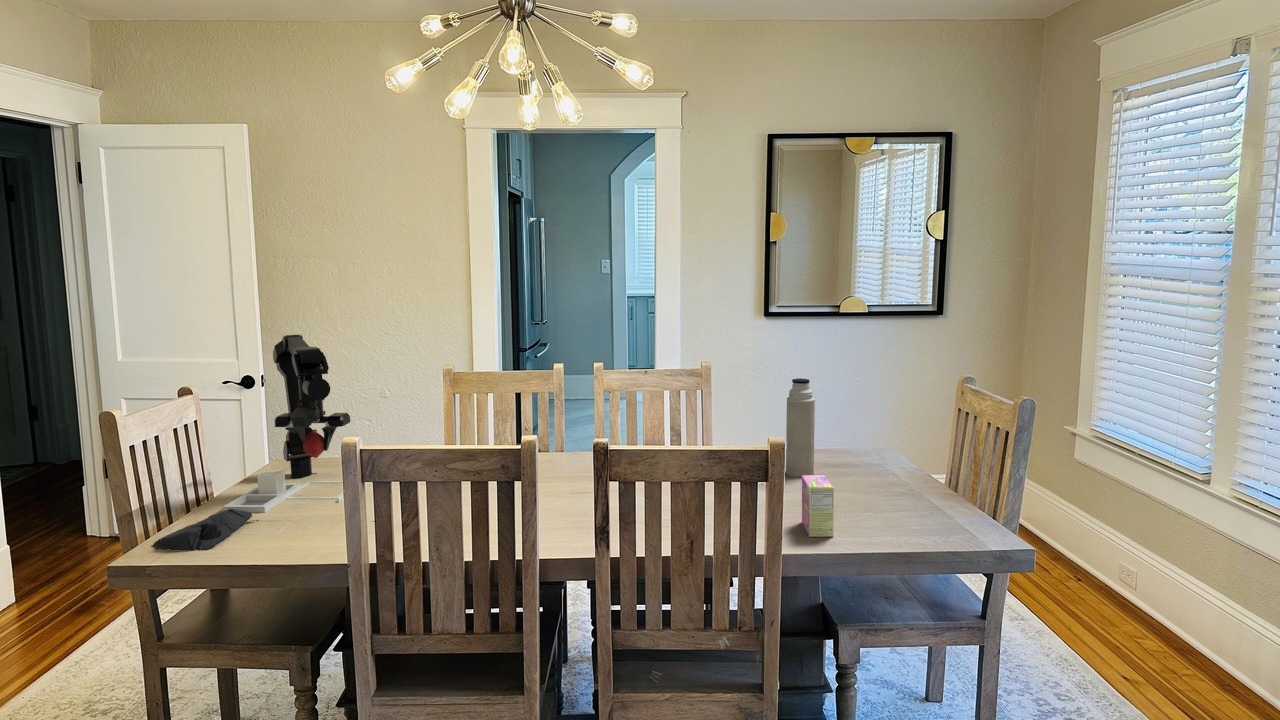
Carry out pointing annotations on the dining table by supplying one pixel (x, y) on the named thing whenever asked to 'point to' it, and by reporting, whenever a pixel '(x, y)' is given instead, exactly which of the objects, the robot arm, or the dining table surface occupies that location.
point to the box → (817, 506)
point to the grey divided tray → (261, 500)
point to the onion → (314, 444)
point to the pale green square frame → (319, 497)
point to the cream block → (271, 482)
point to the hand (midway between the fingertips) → (314, 450)
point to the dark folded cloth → (205, 532)
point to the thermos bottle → (800, 429)
